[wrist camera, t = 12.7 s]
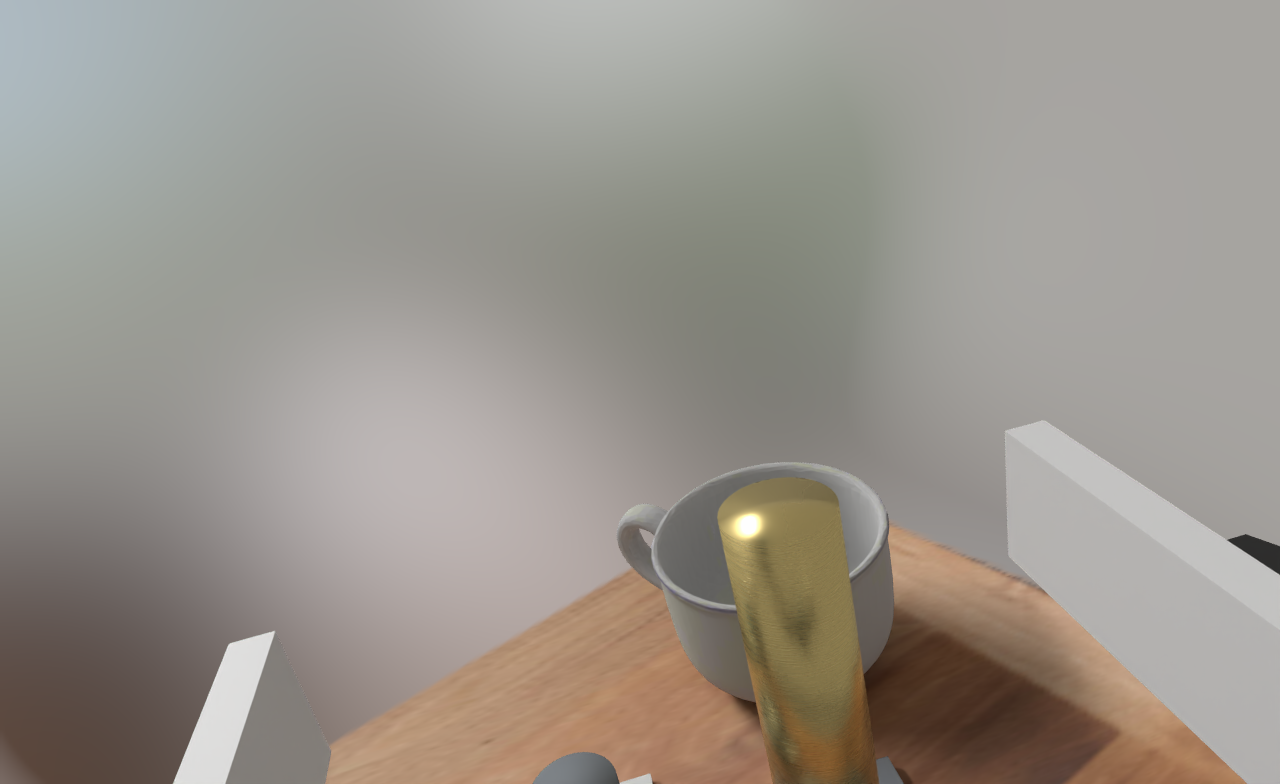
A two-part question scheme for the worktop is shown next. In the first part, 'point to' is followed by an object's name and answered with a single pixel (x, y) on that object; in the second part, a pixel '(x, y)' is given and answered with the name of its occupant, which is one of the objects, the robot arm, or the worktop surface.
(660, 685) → the worktop surface
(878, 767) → the slate coaster
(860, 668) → the cylinder
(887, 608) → the teacup
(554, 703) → the worktop surface
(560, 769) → the mat
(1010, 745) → the worktop surface
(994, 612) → the worktop surface
